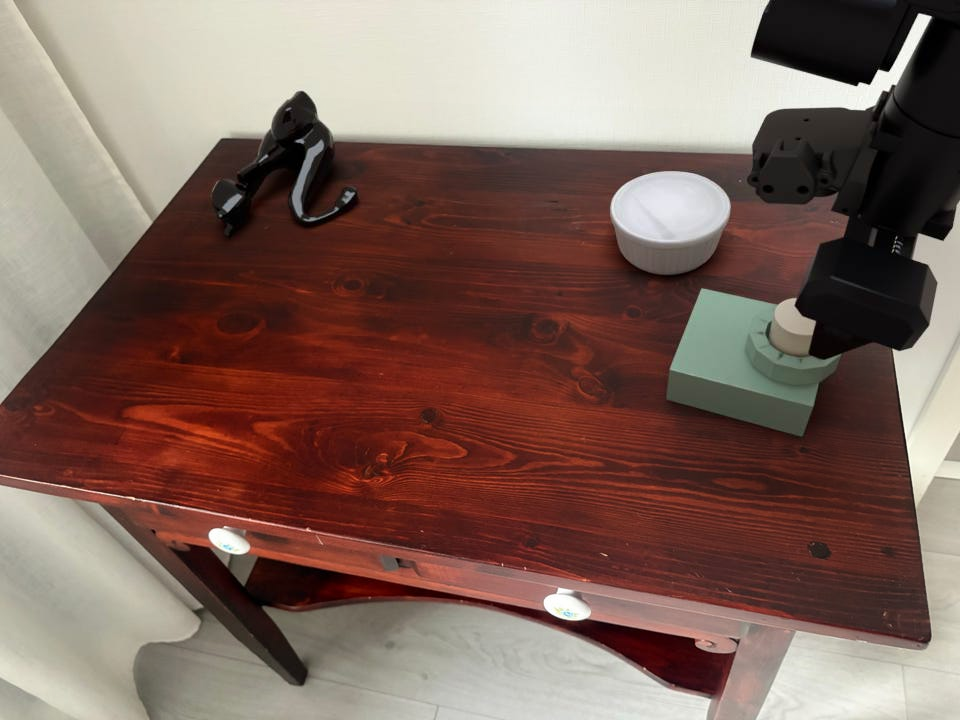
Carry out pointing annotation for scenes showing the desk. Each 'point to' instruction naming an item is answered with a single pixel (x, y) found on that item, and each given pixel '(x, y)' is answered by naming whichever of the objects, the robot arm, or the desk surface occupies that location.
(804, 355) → the cream cylindrical button
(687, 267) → the ramekin
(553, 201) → the desk surface
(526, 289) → the desk surface
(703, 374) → the button base
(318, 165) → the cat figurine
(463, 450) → the desk surface
